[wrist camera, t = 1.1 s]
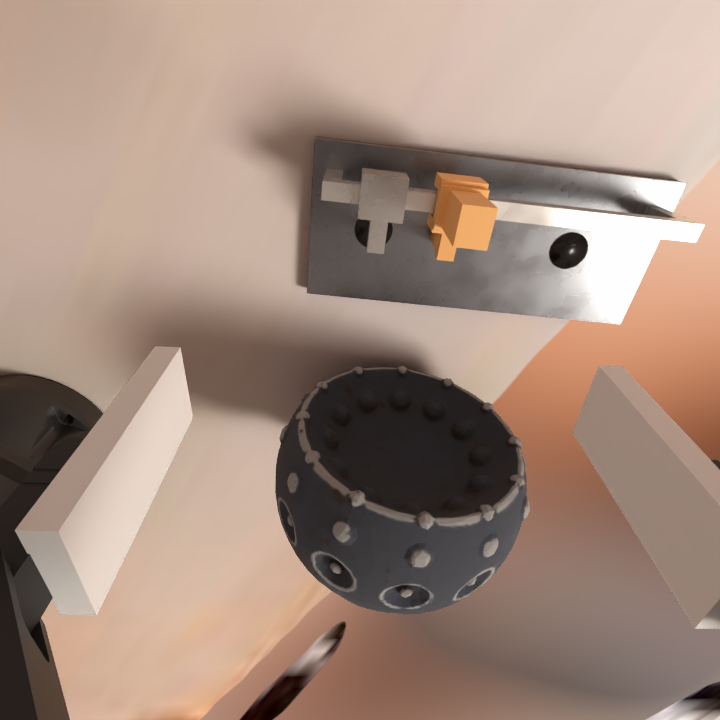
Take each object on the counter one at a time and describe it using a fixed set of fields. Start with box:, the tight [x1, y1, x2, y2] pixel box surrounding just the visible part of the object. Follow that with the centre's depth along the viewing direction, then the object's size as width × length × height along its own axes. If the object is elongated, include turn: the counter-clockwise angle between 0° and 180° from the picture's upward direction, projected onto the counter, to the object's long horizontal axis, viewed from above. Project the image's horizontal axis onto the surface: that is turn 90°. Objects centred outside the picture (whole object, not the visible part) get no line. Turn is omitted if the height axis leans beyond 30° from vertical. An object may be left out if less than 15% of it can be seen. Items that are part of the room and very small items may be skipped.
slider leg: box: [427, 172, 498, 261], centre depth 30 cm, size 3×6×10 cm, turn 174°
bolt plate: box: [307, 137, 686, 324], centre depth 36 cm, size 28×12×1 cm, turn 84°
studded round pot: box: [275, 366, 530, 614], centre depth 37 cm, size 11×20×20 cm, turn 81°
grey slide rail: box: [321, 168, 704, 254], centre depth 33 cm, size 26×5×7 cm, turn 84°
